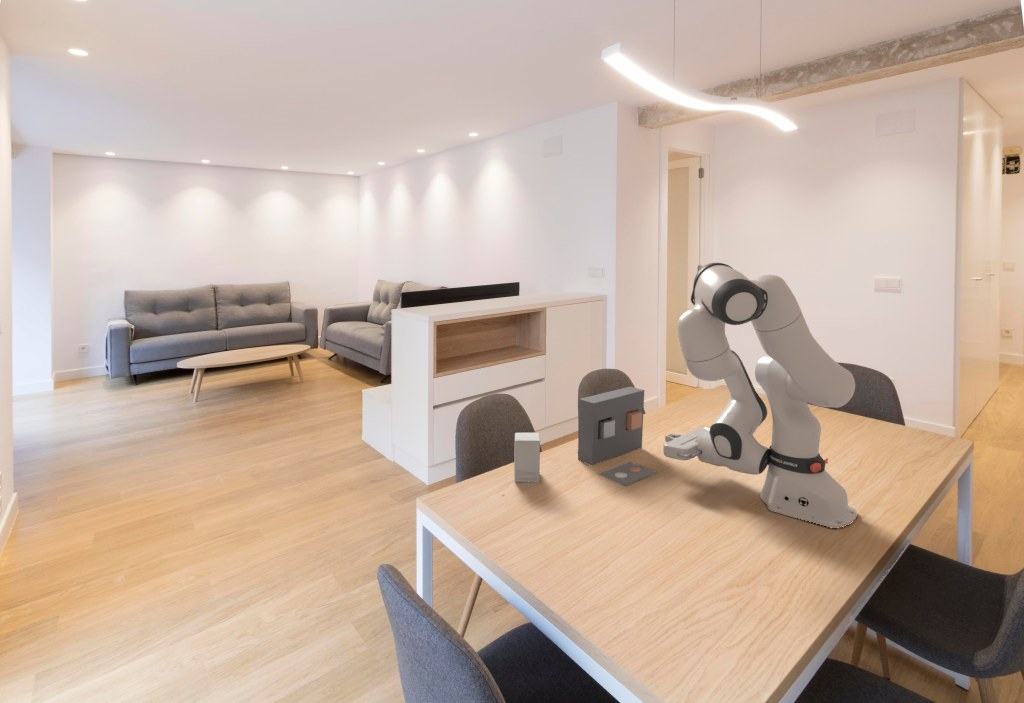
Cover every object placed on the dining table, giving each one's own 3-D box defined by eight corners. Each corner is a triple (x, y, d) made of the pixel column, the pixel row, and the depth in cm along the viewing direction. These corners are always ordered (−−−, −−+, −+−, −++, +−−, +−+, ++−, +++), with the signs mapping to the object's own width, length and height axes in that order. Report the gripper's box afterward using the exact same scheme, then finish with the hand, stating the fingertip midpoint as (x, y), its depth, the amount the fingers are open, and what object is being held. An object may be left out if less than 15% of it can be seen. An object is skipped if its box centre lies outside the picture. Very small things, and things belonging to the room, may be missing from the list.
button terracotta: (641, 426, 179) (642, 412, 178) (631, 430, 176) (631, 415, 175) (634, 424, 181) (634, 410, 180) (624, 427, 178) (624, 412, 177)
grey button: (614, 435, 171) (615, 420, 170) (603, 439, 168) (604, 423, 167) (607, 432, 173) (607, 417, 172) (596, 436, 170) (596, 420, 169)
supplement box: (539, 482, 158) (540, 440, 155) (514, 482, 158) (514, 440, 155) (539, 472, 165) (539, 432, 162) (514, 471, 165) (514, 431, 162)
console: (641, 447, 184) (644, 390, 180) (591, 465, 169) (593, 403, 165) (627, 442, 188) (630, 386, 185) (577, 459, 174) (579, 398, 170)
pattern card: (656, 473, 164) (656, 471, 164) (625, 486, 155) (625, 484, 155) (630, 462, 171) (630, 461, 171) (599, 474, 163) (599, 472, 163)
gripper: (690, 469, 150) (647, 457, 160) (727, 448, 163) (686, 438, 173) (690, 447, 149) (647, 436, 159) (728, 428, 162) (686, 419, 172)
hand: (667, 437), depth 166 cm, fingers closed
